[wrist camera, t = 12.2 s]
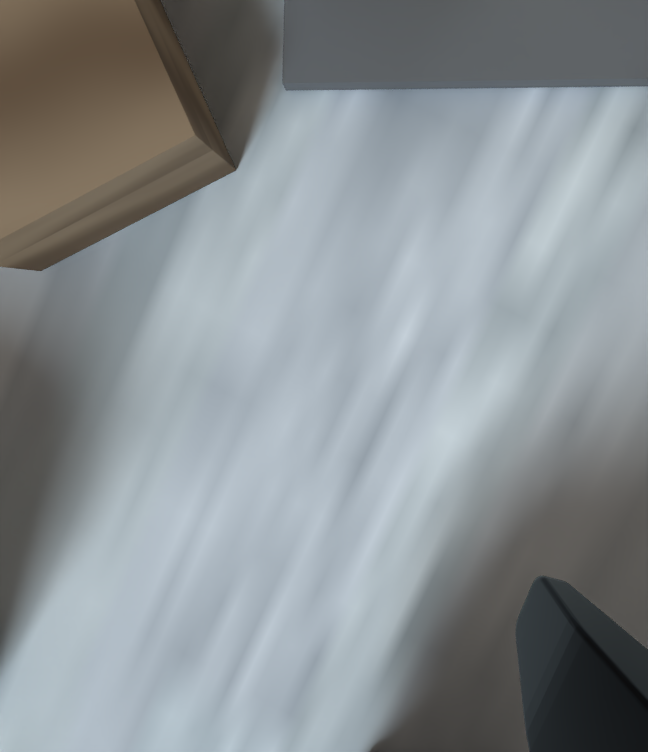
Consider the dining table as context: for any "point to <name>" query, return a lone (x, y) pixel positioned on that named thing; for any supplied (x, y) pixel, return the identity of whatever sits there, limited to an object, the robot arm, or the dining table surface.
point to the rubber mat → (464, 44)
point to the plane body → (94, 124)
